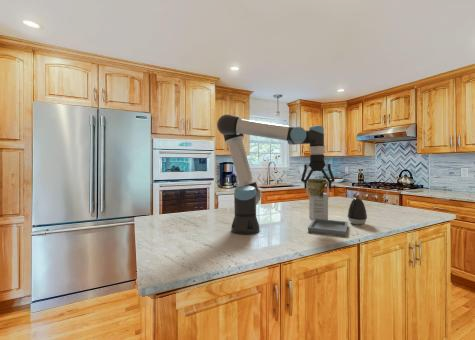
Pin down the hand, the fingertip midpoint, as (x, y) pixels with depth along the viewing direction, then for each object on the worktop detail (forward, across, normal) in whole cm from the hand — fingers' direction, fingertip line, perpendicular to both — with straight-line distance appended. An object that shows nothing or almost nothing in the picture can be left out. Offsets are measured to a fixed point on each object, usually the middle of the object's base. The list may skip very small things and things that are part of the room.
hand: (317, 194), depth 134 cm
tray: (+19, +5, -1) cm, 19 cm away
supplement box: (+19, -2, +19) cm, 27 cm away
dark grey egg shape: (+19, +20, +18) cm, 33 cm away
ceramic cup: (+2, 0, 0) cm, 2 cm away
